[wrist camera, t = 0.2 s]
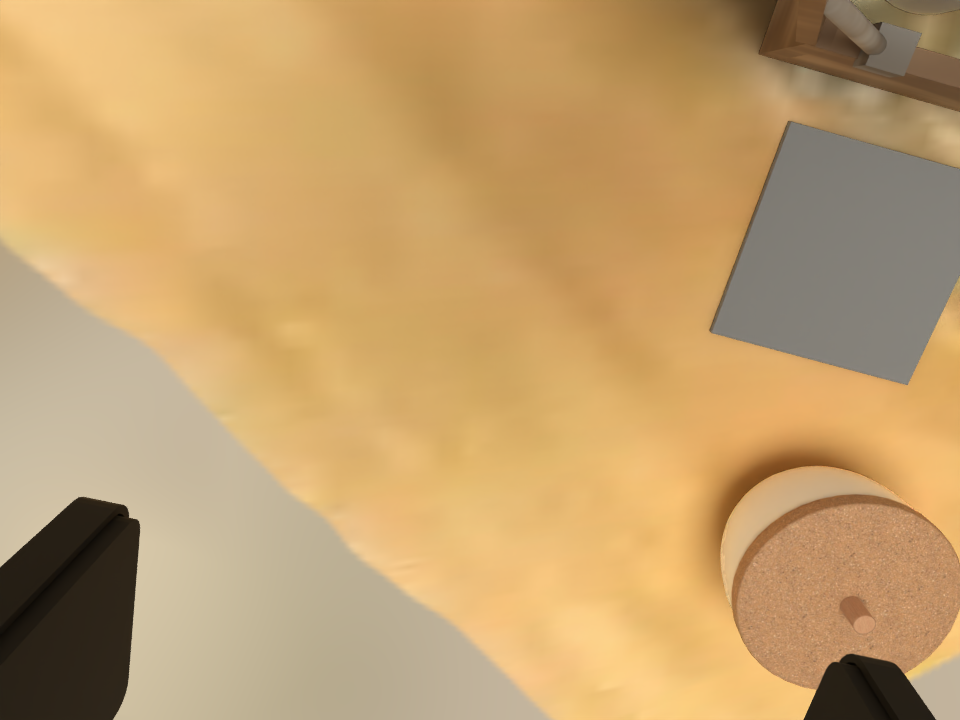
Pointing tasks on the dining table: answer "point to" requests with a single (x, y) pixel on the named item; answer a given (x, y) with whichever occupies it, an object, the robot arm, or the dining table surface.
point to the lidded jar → (835, 574)
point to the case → (860, 50)
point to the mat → (846, 255)
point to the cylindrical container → (926, 6)
